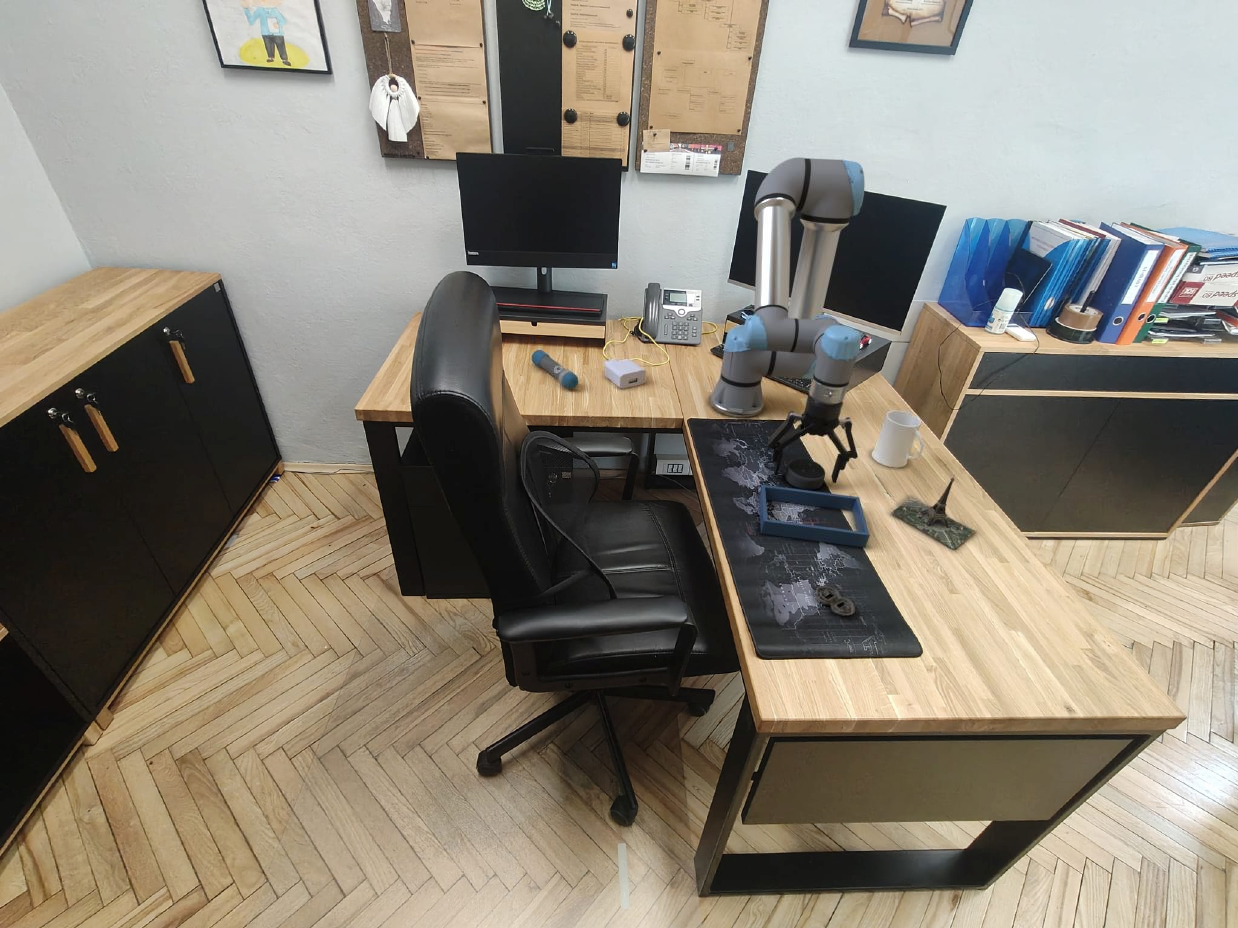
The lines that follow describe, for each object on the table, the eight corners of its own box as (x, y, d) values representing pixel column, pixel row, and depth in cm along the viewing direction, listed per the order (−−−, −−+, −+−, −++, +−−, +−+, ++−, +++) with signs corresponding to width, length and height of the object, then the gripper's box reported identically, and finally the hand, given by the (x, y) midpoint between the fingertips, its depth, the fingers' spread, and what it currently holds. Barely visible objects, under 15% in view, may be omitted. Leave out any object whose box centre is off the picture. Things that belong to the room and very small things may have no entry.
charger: (620, 364, 192) (645, 383, 182) (595, 370, 188) (619, 389, 178) (620, 350, 189) (646, 369, 179) (595, 356, 185) (620, 375, 175)
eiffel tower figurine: (888, 514, 133) (907, 465, 126) (911, 498, 139) (930, 450, 131) (953, 551, 124) (978, 501, 116) (975, 532, 130) (1000, 483, 122)
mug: (923, 471, 148) (940, 430, 141) (897, 477, 146) (913, 436, 139) (890, 447, 157) (904, 407, 150) (864, 452, 154) (878, 412, 148)
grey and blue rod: (545, 362, 191) (544, 348, 188) (581, 389, 177) (581, 374, 174) (531, 365, 189) (530, 351, 186) (566, 393, 174) (566, 378, 171)
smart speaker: (777, 480, 142) (780, 467, 140) (795, 466, 148) (799, 452, 146) (810, 497, 138) (814, 483, 135) (828, 481, 143) (832, 467, 141)
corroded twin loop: (842, 623, 107) (844, 619, 106) (808, 594, 112) (809, 591, 111) (860, 611, 109) (861, 607, 108) (825, 584, 114) (826, 580, 114)
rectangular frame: (758, 496, 137) (761, 484, 135) (854, 509, 135) (859, 496, 133) (760, 533, 126) (763, 520, 124) (865, 547, 124) (870, 535, 122)
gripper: (769, 399, 128) (752, 478, 140) (888, 412, 125) (860, 492, 137) (767, 383, 134) (751, 460, 146) (881, 396, 131) (855, 473, 143)
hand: (804, 476), depth 142 cm, fingers open, 13 cm apart
